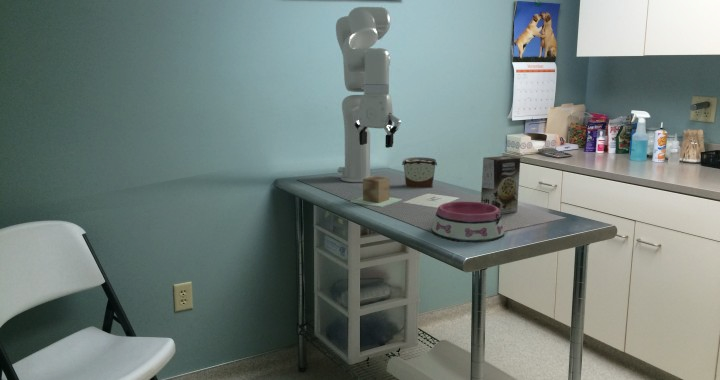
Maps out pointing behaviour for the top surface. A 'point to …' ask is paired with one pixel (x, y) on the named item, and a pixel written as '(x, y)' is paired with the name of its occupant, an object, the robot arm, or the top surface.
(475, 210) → the dog bowl
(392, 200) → the mat
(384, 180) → the walnut block
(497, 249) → the top surface
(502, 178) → the coffee box
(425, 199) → the card
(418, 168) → the food container
